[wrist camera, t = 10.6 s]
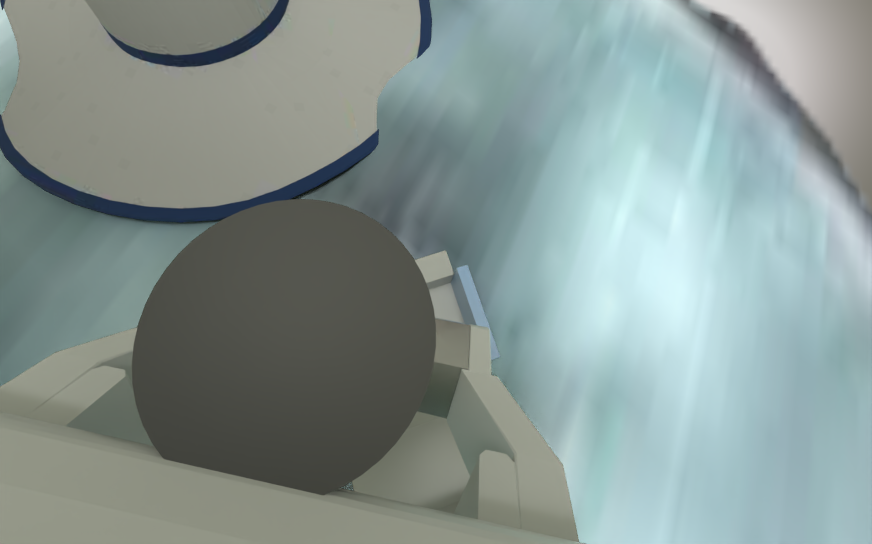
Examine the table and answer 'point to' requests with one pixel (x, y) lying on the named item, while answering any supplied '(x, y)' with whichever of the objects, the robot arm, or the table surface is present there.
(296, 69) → the sun hat
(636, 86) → the table surface
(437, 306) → the stepped cream block
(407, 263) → the grey-capped cream cylinder
